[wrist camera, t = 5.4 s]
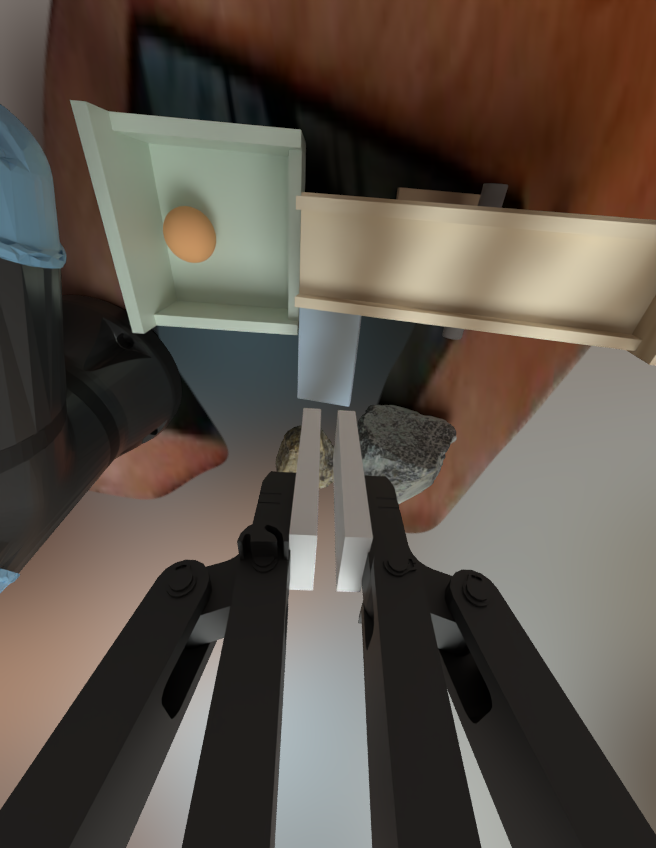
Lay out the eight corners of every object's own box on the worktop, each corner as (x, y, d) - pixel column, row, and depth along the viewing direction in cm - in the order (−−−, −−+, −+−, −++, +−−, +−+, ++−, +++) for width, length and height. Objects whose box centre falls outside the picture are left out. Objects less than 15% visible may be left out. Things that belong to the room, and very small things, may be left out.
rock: (260, 439, 37) (252, 465, 34) (321, 415, 35) (320, 440, 32) (290, 480, 41) (286, 508, 37) (346, 460, 39) (348, 487, 35)
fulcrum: (380, 299, 28) (396, 328, 22) (397, 188, 24) (425, 179, 17) (530, 311, 29) (592, 342, 22) (574, 203, 24) (668, 201, 18)
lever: (304, 387, 26) (287, 414, 22) (311, 172, 18) (287, 162, 15) (569, 430, 23) (598, 469, 20) (706, 200, 16) (794, 195, 12)
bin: (172, 307, 29) (132, 332, 23) (137, 128, 22) (69, 100, 16) (301, 317, 29) (295, 344, 23) (306, 144, 23) (298, 121, 17)
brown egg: (216, 267, 23) (221, 260, 26) (209, 208, 21) (215, 207, 24) (163, 265, 23) (174, 258, 26) (151, 203, 21) (164, 203, 24)
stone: (444, 455, 25) (369, 528, 30) (479, 447, 33) (415, 505, 37) (369, 378, 30) (313, 451, 34) (416, 386, 37) (365, 445, 42)
